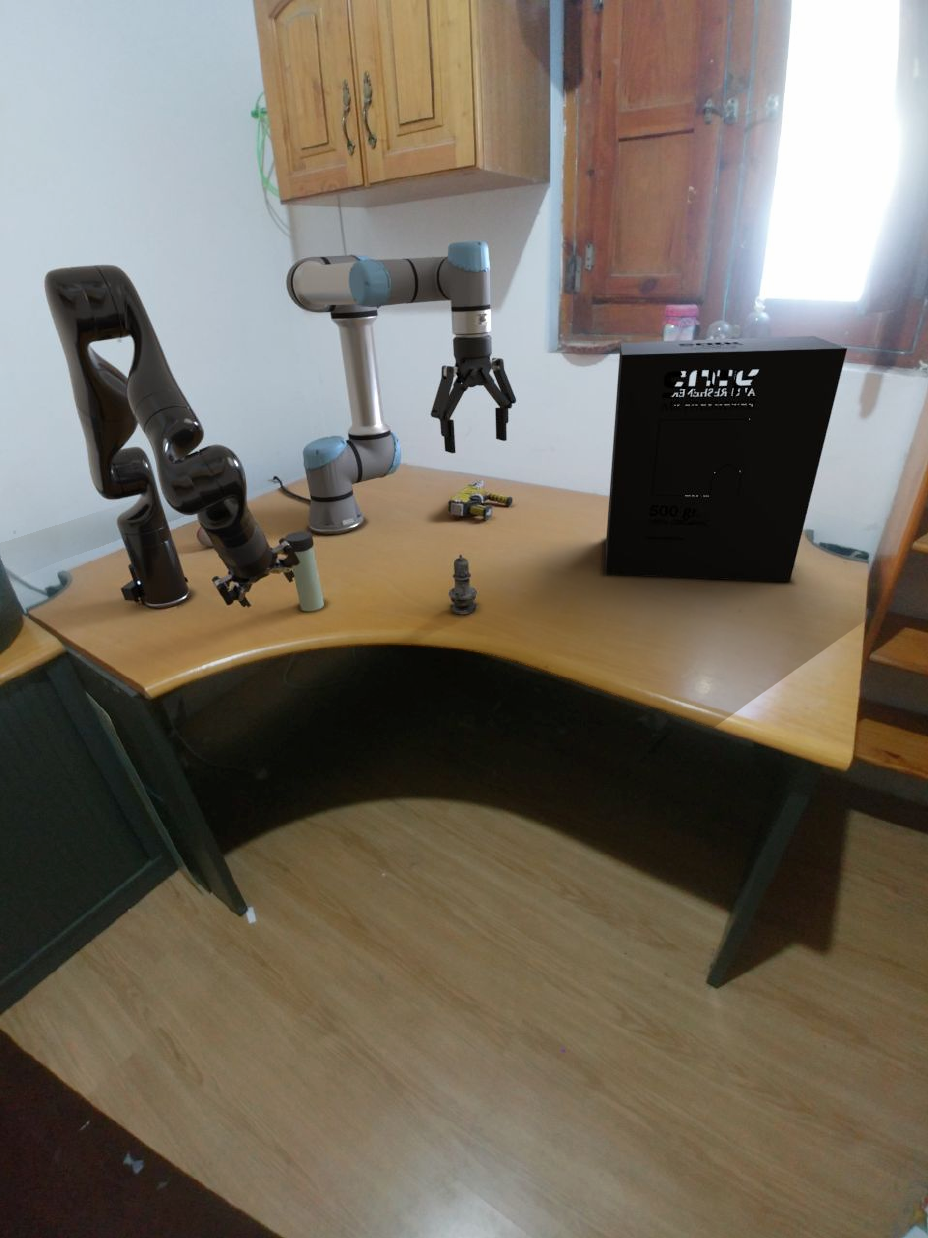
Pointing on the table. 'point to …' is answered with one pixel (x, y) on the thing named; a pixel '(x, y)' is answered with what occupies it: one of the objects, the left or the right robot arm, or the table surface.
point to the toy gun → (475, 501)
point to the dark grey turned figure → (462, 588)
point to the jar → (308, 581)
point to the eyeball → (204, 538)
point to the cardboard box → (717, 455)
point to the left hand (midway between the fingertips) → (268, 590)
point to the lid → (300, 540)
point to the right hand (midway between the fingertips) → (476, 445)
